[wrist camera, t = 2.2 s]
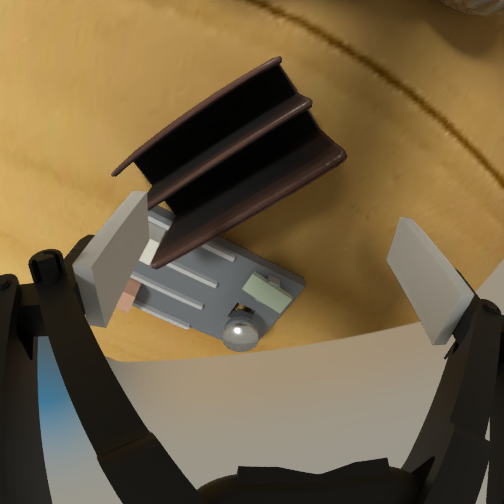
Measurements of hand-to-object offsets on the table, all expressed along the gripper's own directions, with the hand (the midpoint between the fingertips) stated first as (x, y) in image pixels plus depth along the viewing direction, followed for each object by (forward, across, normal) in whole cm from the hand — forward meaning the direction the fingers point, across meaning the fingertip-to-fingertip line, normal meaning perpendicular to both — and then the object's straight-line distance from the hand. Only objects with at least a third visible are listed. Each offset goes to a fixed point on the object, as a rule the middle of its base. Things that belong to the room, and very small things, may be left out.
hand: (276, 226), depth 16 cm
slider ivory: (+19, -13, -12) cm, 26 cm away
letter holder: (+22, -4, 0) cm, 23 cm away
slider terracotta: (+20, -16, -21) cm, 33 cm away
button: (+19, 0, -24) cm, 31 cm away
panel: (+22, -6, -20) cm, 30 cm away
